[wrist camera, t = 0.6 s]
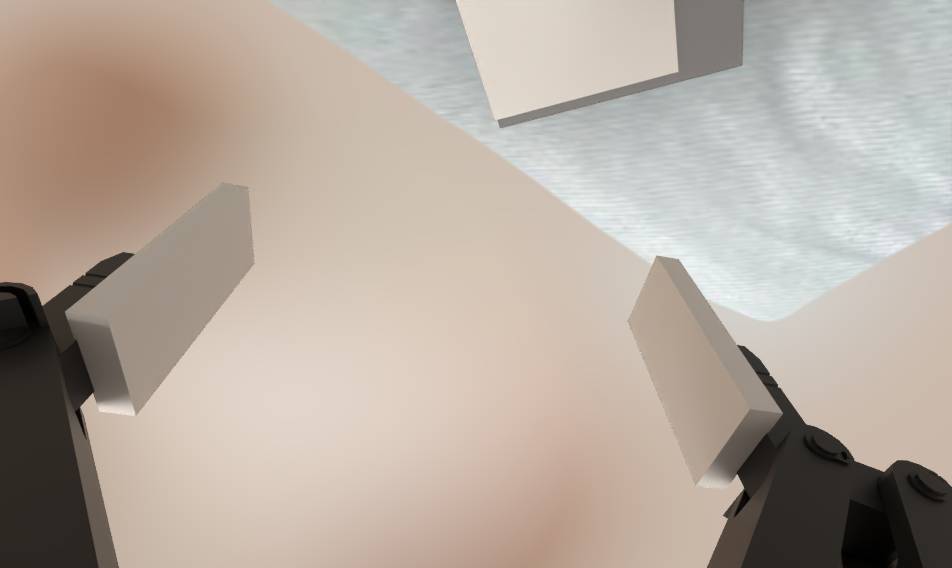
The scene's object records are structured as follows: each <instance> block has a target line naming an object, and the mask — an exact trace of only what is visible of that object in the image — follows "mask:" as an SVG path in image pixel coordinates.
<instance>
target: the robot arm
mask: <svg viewBox="0 0 952 568" xmlns="http://www.w3.org/2000/svg"><path fill="white" fill-rule="evenodd" d="M253 264H254V253H253V240H252V228H251V216H250V203H249V191H248V187H245V186H239V185H233V184H228V183H221V184H220V185H219V186H218V187H216V188H215V189H214V190H213V191H212V192H210V193H209V194H208V195H207V196H205V197H204V198H203V199H202V200H201V201H199V202H198V203H197V204H196V205H195V206H193V207H192V208H191V209H190V210H188V211H187V212H186V213H185V214H184V215H182V216H181V217H180V218H179V219H177V220H176V221H175V222H174V223H173V224H171V225H170V226H169V227H168V228H166V229H165V230H164V231H163V232H162V233H160V234H159V235H158V236H157V237H156V238H154V239H153V240H152V241H151V242H150V243H148V244H147V245H146V246H145V247H143V248H142V249H141V250H140V251H138V252H137V253H136V254H132V253H125V252H122V253H120V254H118V255H115V256H113V257H110V258H108V259H105V260H103V261H101V262H100V263H98V264H97V265H96V266H94V267H93V268H92V269H90V270H89V271H88V272H86V275H85V276H83V275H82V276H81V277H80V278H79V279H77V280H76V281H75V282H73V285H69V286H68V287H67V288H65V289H64V290H63V291H62V292H60V293H59V294H58V295H57V296H55V297H54V298H52V299H51V300H50V301H49V302H47V303H46V304H45V305H43V306H42V305H41V302H40V299H39V297H38V294H37V293H36V291H35V290H34V289H33V287H30V286H28V285H25V284H22V283H11V282H4V283H0V568H119V566H118V562H117V558H116V553H115V549H114V545H113V541H112V536H111V532H110V528H109V523H108V519H107V514H106V510H105V506H104V501H103V498H102V493H101V488H100V484H99V480H98V476H97V471H96V467H95V462H94V458H93V454H92V449H91V446H90V441H89V437H88V432H87V428H86V423H85V419H84V415H83V413H82V410H81V408H80V406H81V405H82V404H83V403H84V402H85V401H86V400H87V399H88V398H89V396H90V395H91V394H92V393H93V394H94V397H95V400H96V402H97V405H98V408H99V411H101V412H109V413H117V414H125V415H133V416H136V415H137V414H138V413H139V411H140V410H141V409H142V407H143V406H144V405H145V404H146V402H147V401H148V400H149V398H150V397H151V396H152V395H153V393H154V392H155V391H156V389H157V388H158V387H159V386H160V384H161V383H162V382H163V381H164V379H165V378H166V377H167V375H168V374H169V373H170V371H171V370H172V369H173V368H174V366H175V365H176V364H177V362H178V361H179V360H180V358H181V357H182V356H183V355H184V353H185V352H186V351H187V350H188V348H189V347H190V345H191V344H192V343H193V342H194V341H195V339H196V338H197V337H198V335H199V334H200V333H201V331H202V330H203V329H204V328H205V326H206V325H207V324H208V322H209V321H210V320H211V319H212V317H213V316H214V315H215V313H216V312H217V311H218V310H219V308H220V307H221V306H222V304H223V303H224V302H225V301H226V299H227V298H228V297H229V295H230V294H231V293H232V292H233V290H234V289H235V288H236V286H237V285H238V284H239V283H240V281H241V280H242V279H243V277H244V276H245V275H246V274H247V272H248V271H249V269H250V268H251V267H252V266H253ZM628 323H629V325H630V328H631V330H632V333H633V335H634V338H635V340H636V342H637V345H638V347H639V350H640V352H641V354H642V357H643V359H644V362H645V364H646V366H647V369H648V371H649V374H650V376H651V379H652V381H653V383H654V386H655V388H656V390H657V393H658V396H659V398H660V400H661V403H662V405H663V408H664V410H665V412H666V415H667V417H668V419H669V422H670V425H671V427H672V429H673V432H674V434H675V437H676V439H677V441H678V444H679V446H680V449H681V451H682V454H683V456H684V458H685V461H686V463H687V466H688V468H689V470H690V473H691V475H692V478H693V480H694V482H695V485H696V486H700V487H708V488H716V489H726V488H727V487H728V486H729V484H730V483H731V482H732V480H733V479H734V478H735V476H736V475H737V474H738V476H739V478H740V480H741V482H742V484H743V486H744V490H743V491H742V492H741V493H740V495H739V496H738V497H737V498H736V500H735V501H734V502H733V503H732V505H731V506H730V507H729V508H728V510H727V511H726V512H725V514H724V515H723V516H725V517H726V518H728V520H727V523H726V525H725V527H724V529H723V532H722V534H721V536H720V539H719V541H718V543H717V546H716V548H715V550H714V553H713V555H712V557H711V560H710V562H709V564H708V566H707V568H952V487H951V486H950V485H949V484H948V483H947V481H945V480H944V479H943V478H942V477H941V476H938V474H936V473H935V472H933V471H931V470H929V469H927V468H925V467H923V466H921V465H919V464H916V463H913V462H910V461H904V460H898V461H896V462H895V463H893V464H892V465H891V466H890V467H889V468H888V469H887V470H886V471H885V472H882V471H880V470H877V469H875V468H872V467H869V466H866V465H864V464H861V463H858V462H856V461H854V458H853V456H852V455H851V453H850V452H849V450H848V449H847V448H846V447H845V446H844V445H843V444H842V443H841V442H840V441H839V440H838V439H836V438H835V437H833V436H832V435H830V434H829V433H827V432H825V431H823V430H821V429H819V428H817V427H814V426H810V425H806V424H805V422H804V421H803V419H802V418H801V417H800V415H799V414H798V412H797V411H796V410H795V408H794V407H793V405H792V404H791V403H790V401H789V400H788V398H787V397H786V395H785V394H784V393H783V391H782V390H781V388H778V384H777V383H776V381H775V380H774V379H773V377H772V376H770V373H769V372H768V370H767V369H766V368H765V366H764V365H763V363H762V362H761V360H760V359H759V358H757V357H756V356H755V355H754V354H753V353H752V352H750V351H749V350H748V349H747V348H746V347H745V346H740V345H736V343H735V342H734V340H733V339H732V337H731V336H730V334H729V333H728V331H727V330H726V328H725V327H724V325H723V324H722V323H721V321H720V320H719V318H718V317H717V315H716V314H715V312H714V311H713V309H712V308H711V306H710V305H709V303H708V302H707V300H706V299H705V297H704V296H703V294H702V293H701V292H700V290H699V289H698V287H697V286H696V284H695V283H694V281H693V280H692V278H691V277H690V275H689V274H688V272H687V271H686V269H685V268H684V266H683V265H682V263H681V262H680V261H679V259H673V258H668V257H662V256H656V258H655V261H654V263H653V265H652V267H651V270H650V272H649V274H648V277H647V279H646V281H645V283H644V286H643V288H642V290H641V293H640V295H639V297H638V299H637V301H636V304H635V306H634V308H633V310H632V313H631V315H630V317H629V320H628Z"/></svg>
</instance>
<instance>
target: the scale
mask: <svg viewBox="0 0 952 568" xmlns="http://www.w3.org/2000/svg"><path fill="white" fill-rule="evenodd" d="M456 2H457V5H458V9H459V12H460V15H461V18H462V21H463V24H464V27H465V30H466V33H467V36H468V39H469V42H470V46H471V49H472V52H473V55H474V58H475V61H476V64H477V67H478V70H479V73H480V76H481V79H482V83H483V86H484V89H485V92H486V95H487V98H488V101H489V104H490V107H491V110H492V113H493V116H494V120H498V123H499V126H500V128H503V127H507V126H511V125H515V124H519V123H523V122H527V121H530V120H534V119H538V118H542V117H546V116H550V115H554V114H557V113H561V112H565V111H569V110H573V109H577V108H580V107H584V106H588V105H592V104H596V103H600V102H604V101H607V100H611V99H615V98H619V97H623V96H627V95H631V94H634V93H638V92H642V91H646V90H650V89H654V88H658V87H661V86H665V85H669V84H673V83H677V82H681V81H685V80H688V79H692V78H696V77H700V76H704V75H708V74H712V73H715V72H719V71H723V70H727V69H731V68H735V67H739V66H742V53H743V0H456Z"/></svg>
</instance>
